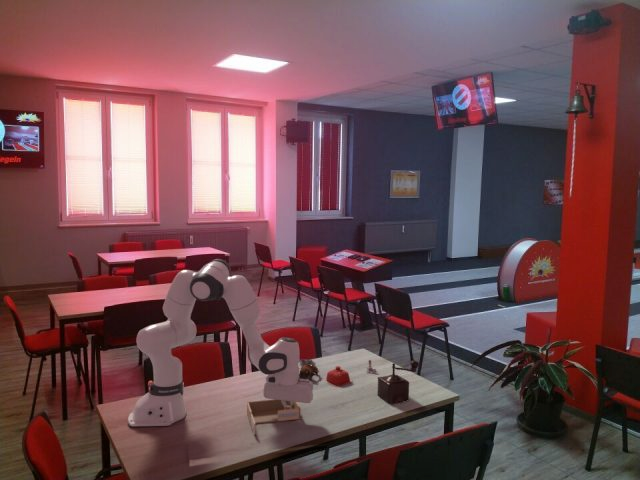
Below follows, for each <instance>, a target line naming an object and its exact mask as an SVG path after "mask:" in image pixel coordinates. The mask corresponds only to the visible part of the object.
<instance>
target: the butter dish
mask: <svg viewBox="0 0 640 480" xmlns="http://www.w3.org/2000/svg"><path fill="white" fill-rule="evenodd" d="M325 381H326V382H327V384H328V385H329V386H332V387H335V388H340V387H343V386H346V385H349V384H352V383H353V382H354V381H353V380H352V381H351V378H350V374H349V372H348V371H347V370H345V369H342V368H341V366H339V365H338V366H337V365H336V366H335V368H334V369H332V370H329V371H328V372H327V374H326V379H325Z"/></svg>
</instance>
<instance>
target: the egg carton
mask: <svg viewBox="0 0 640 480" xmlns="http://www.w3.org/2000/svg"><path fill="white" fill-rule="evenodd" d="M303 363H304V364H305V363H306V364H309V365H312V366H314V367H316V362H315V361H314V360H313V359H309V358H308V359H299V365H301V366H300V368H301V367H302V366H304V364H303ZM310 363H311V364H310ZM316 368H317V367H316Z"/></svg>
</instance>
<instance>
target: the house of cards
mask: <svg viewBox="0 0 640 480" xmlns="http://www.w3.org/2000/svg"><path fill="white" fill-rule="evenodd" d="M366 368H367V369H366V374H370V375H371V374H374V373H376V372H377V369H376V368H373V367H372V360H371V359H369V360H368V367H366Z"/></svg>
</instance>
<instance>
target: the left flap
mask: <svg viewBox="0 0 640 480" xmlns="http://www.w3.org/2000/svg"><path fill="white" fill-rule="evenodd" d="M250 424H251V425H250ZM249 425H250V426H251V430H252V432H253V435H256V424H255V421H254V418H253V415H252V413H250V422H249Z"/></svg>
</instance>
